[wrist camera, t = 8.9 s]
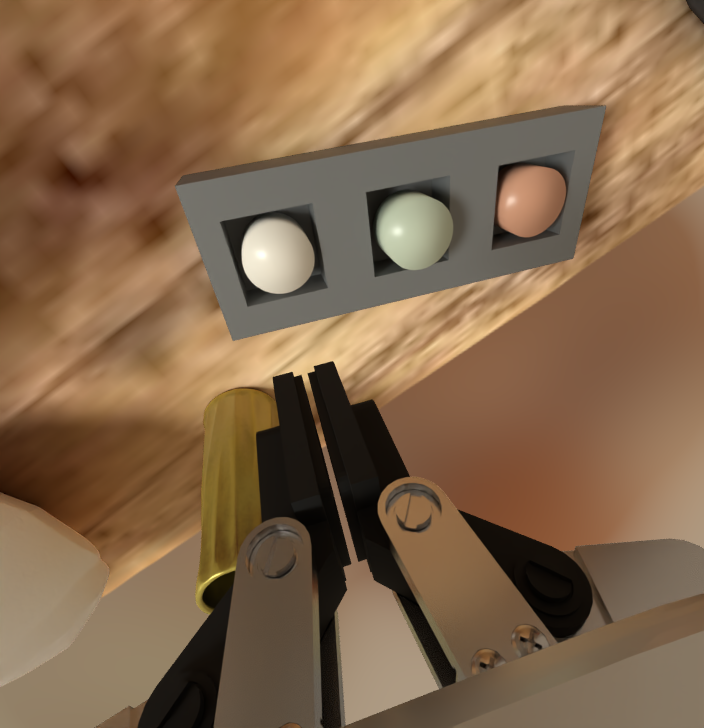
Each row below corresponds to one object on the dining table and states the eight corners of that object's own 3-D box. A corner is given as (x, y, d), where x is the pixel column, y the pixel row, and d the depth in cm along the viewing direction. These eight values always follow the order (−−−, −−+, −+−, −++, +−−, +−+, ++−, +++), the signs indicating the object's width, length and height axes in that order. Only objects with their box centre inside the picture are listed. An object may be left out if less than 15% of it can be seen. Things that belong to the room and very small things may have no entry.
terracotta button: (486, 168, 24) (510, 174, 22) (543, 157, 24) (571, 161, 22) (482, 232, 26) (503, 243, 24) (534, 220, 27) (559, 230, 25)
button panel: (182, 175, 21) (174, 186, 19) (563, 105, 24) (606, 105, 22) (233, 316, 27) (232, 340, 24) (541, 244, 30) (573, 258, 27)
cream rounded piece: (232, 219, 22) (232, 231, 20) (300, 206, 22) (306, 216, 20) (252, 283, 24) (253, 300, 22) (313, 270, 25) (320, 285, 23)
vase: (267, 377, 30) (286, 543, 19) (289, 430, 34) (317, 597, 22) (190, 401, 29) (162, 587, 18) (221, 452, 33) (214, 635, 22)
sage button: (369, 196, 22) (383, 205, 20) (434, 183, 23) (454, 191, 21) (376, 262, 24) (389, 276, 22) (434, 249, 25) (452, 262, 23)
